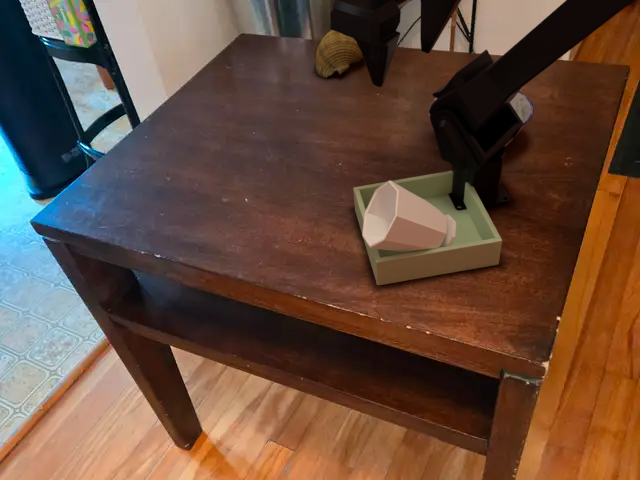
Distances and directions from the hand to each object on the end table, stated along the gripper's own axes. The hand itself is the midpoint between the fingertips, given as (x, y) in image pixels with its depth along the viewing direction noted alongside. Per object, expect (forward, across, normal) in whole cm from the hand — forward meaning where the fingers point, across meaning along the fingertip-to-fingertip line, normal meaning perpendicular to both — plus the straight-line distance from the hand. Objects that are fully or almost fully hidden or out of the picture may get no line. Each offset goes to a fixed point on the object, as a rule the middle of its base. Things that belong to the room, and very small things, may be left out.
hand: (402, 68), depth 68 cm
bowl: (+13, -10, +6) cm, 17 cm away
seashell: (+15, -17, -24) cm, 33 cm away
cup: (+10, +11, +13) cm, 20 cm away
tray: (+12, +10, +11) cm, 19 cm away
